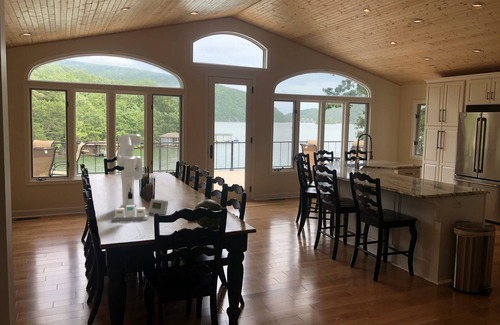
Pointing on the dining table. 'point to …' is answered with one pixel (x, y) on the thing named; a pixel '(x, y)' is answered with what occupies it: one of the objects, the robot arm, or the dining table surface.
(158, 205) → the digital clock
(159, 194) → the dining table surface
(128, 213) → the module
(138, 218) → the rail panel
